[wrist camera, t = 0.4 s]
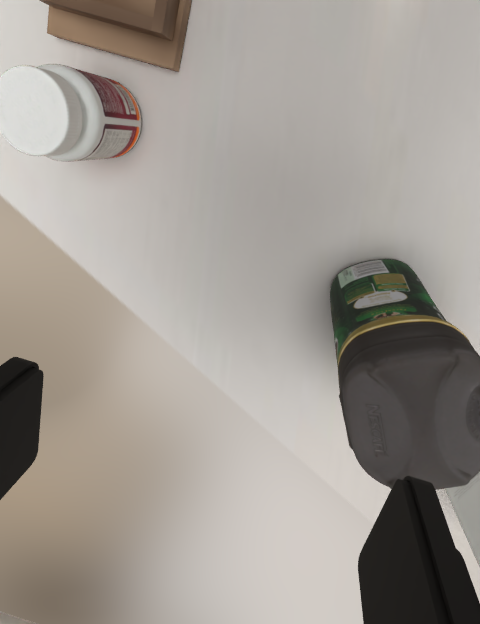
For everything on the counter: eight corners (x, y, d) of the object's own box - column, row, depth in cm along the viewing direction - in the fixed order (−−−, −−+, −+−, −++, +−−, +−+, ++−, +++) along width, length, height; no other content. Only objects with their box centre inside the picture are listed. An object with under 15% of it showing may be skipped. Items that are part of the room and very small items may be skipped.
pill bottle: (76, 73, 36) (-21, 44, 26) (147, 86, 36) (77, 63, 25) (74, 150, 39) (-16, 153, 28) (140, 164, 38) (74, 173, 28)
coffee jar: (429, 349, 40) (514, 503, 23) (341, 362, 42) (360, 514, 25) (415, 246, 37) (502, 336, 20) (322, 266, 39) (327, 364, 22)
